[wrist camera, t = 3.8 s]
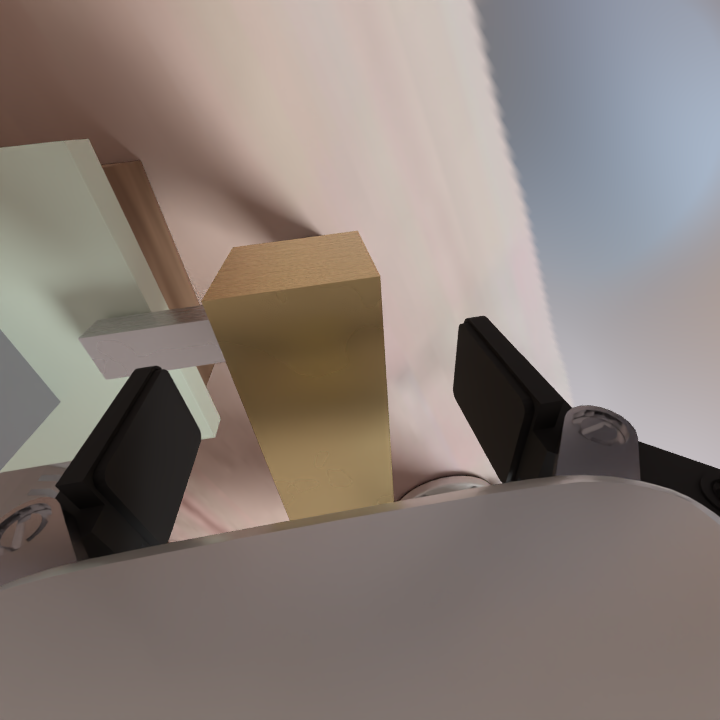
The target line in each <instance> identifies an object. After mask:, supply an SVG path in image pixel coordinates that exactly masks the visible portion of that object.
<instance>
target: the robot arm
mask: <svg viewBox="0 0 720 720" xmlns="http://www.w3.org/2000/svg"><path fill="white" fill-rule="evenodd" d="M453 393H454V397H455V399H456V401H457V403H458V405H459V406H460V408H461V410H462V412H463V414H464V416H465V417H466V419H467V421H468V423H469V425H470V427H471V428H472V430H473V432H474V434H475V436H476V437H477V439H478V441H479V443H480V445H481V447H482V448H483V450H484V452H485V454H486V456H487V458H488V459H489V461H490V463H491V465H492V467H493V468H494V470H495V472H496V474H497V476H498V478H499V479H500V481H501V482H502V484H496V485H490V484H489V483H488V482H486V481H484V480H482V479H480V478H476V477H471V476H451V477H445V478H440V479H437V480H433V481H430V482H428V483H425V484H423V485H421V486H419V487H417V488H415V489H414V490H412V491H411V492H409V493H408V494H407V495H405V496H404V497H403V498H402V499H401V500H400V501H397V502H391V503H385V504H380V505H374V506H368V507H363V508H357V509H352V510H346V511H341V512H335V513H330V514H324V515H318V516H313V517H307V518H302V519H296V520H291V521H285V522H280V523H274V524H269V525H264V526H258V527H253V528H247V529H242V530H237V531H231V532H226V533H220V534H215V535H210V536H204V537H199V538H194V539H188V540H183V541H178V542H172V543H167V542H168V540H169V538H170V535H171V532H172V529H173V526H174V523H175V520H176V517H177V513H178V510H179V507H180V504H181V501H182V498H183V495H184V492H185V489H186V486H187V483H188V479H189V476H190V473H191V470H192V467H193V464H194V461H195V458H196V455H197V452H198V448H199V445H200V442H201V431H200V429H199V427H198V425H197V423H196V421H195V420H194V418H193V416H192V414H191V412H190V410H189V408H188V407H187V405H186V403H185V401H184V399H183V397H182V396H181V394H180V392H179V390H178V388H177V386H176V384H175V383H174V381H173V379H172V377H171V375H170V373H169V372H168V371H167V370H166V369H162V368H161V367H159V366H157V365H156V366H150V367H143V368H137V369H135V370H134V371H133V373H132V374H131V376H130V377H129V378H128V380H127V381H126V383H125V384H124V386H123V387H122V389H121V390H120V392H119V393H118V394H117V396H116V397H115V399H114V400H113V402H112V403H111V405H110V406H109V408H108V409H107V411H106V412H105V413H104V415H103V416H102V418H101V419H100V421H99V422H98V424H97V425H96V427H95V428H94V429H93V431H92V432H91V434H90V435H89V437H88V438H87V440H86V441H85V443H84V444H83V446H82V447H81V448H80V450H79V451H78V453H77V454H76V456H75V457H74V459H73V460H72V462H71V463H70V465H69V466H68V467H67V469H66V470H65V472H64V473H63V475H62V476H61V478H60V479H59V481H58V482H57V483H56V485H55V487H56V488H58V489H59V490H60V491H59V493H58V494H57V496H56V497H55V498H51V497H41V498H37V499H34V500H30V501H28V502H26V503H23V504H21V505H19V506H17V507H16V508H14V509H12V510H11V511H9V512H8V513H6V514H5V515H3V516H2V517H1V518H0V720H720V469H718V468H715V467H712V466H709V465H706V464H703V463H700V462H697V461H694V460H691V459H689V458H686V457H683V456H680V455H677V454H674V453H671V452H668V451H665V450H662V449H659V448H656V447H654V446H651V445H647V444H645V443H642V442H639V441H638V436H637V433H636V430H635V429H634V427H633V426H632V425H631V424H630V423H629V422H628V421H627V420H626V419H624V418H623V417H622V416H620V415H618V414H616V413H614V412H612V411H610V410H608V409H605V408H602V407H597V406H591V405H587V406H577V407H574V408H572V407H571V406H570V405H569V404H568V403H567V402H566V401H565V400H564V399H563V398H562V397H561V396H560V395H559V394H558V392H557V391H556V390H555V389H554V388H553V387H552V386H551V385H550V384H549V383H548V382H547V381H546V380H545V379H544V378H543V377H542V375H541V374H540V373H539V372H538V371H537V370H536V369H535V368H534V367H533V366H532V365H531V364H530V363H529V362H528V361H527V360H526V358H525V357H524V356H523V355H521V353H520V352H519V351H518V350H517V349H516V348H515V347H514V346H513V345H512V344H511V343H510V342H509V341H508V340H507V339H506V337H505V336H504V335H503V334H502V333H501V332H500V331H499V330H498V329H497V328H496V327H495V326H494V325H493V324H492V323H491V321H490V320H489V319H488V318H487V317H485V316H479V317H472V318H466V319H465V321H464V323H463V324H460V325H459V330H458V341H457V352H456V363H455V373H454V384H453Z"/></svg>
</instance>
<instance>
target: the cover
mask: <svg viewBox="0 0 720 720" xmlns="http://www.w3.org/2000/svg"><path fill="white" fill-rule="evenodd" d="M163 310H169V308H168V306H167V304H166V302H165V299H164V297H163V295H162V293H161V291H160V289H159V287H158V285H157V282H156V280H155V278H154V276H153V274H152V272H151V270H150V268H149V266H148V263H147V261H146V259H145V257H144V255H143V253H142V251H141V249H140V247H139V244H138V242H137V240H136V238H135V236H134V234H133V232H132V230H131V227H130V225H129V223H128V221H127V219H126V217H125V215H124V213H123V211H122V208H121V206H120V204H119V202H118V200H117V198H116V196H115V194H114V192H113V189H112V187H111V185H110V183H109V181H108V179H107V177H106V175H105V172H104V170H103V168H102V166H101V164H100V162H99V160H98V158H97V156H96V153H95V151H94V149H93V147H92V145H91V143H90V141H89V139H80V140H64V141H55V142H47V143H38V144H29V145H20V146H11V147H2V148H0V473H1V472H7V471H13V470H19V469H25V468H31V467H37V466H44V465H50V464H56V463H62V462H68V461H72V460H73V459H74V457H75V456H76V454H77V453H78V451H79V450H80V448H81V447H82V446H83V444H84V443H85V441H86V440H87V438H88V437H89V435H90V434H91V432H92V431H93V429H94V428H95V427H96V425H97V424H98V422H99V421H100V419H101V418H102V416H103V415H104V413H105V412H106V411H107V409H108V408H109V406H110V405H111V403H112V402H113V400H114V399H115V397H116V396H117V394H118V393H119V392H120V390H121V389H122V387H123V386H124V384H125V383H126V381H127V380H128V378H129V377H130V376H129V377H122V378H115V379H109V380H106V379H105V377H104V376H103V375H102V373H101V372H100V370H99V369H98V367H97V366H96V364H95V363H94V361H93V360H92V359H91V357H90V356H89V354H88V353H87V351H86V350H85V348H84V347H83V346H82V344H81V343H80V341H79V340H78V338H79V337H80V336H81V335H82V334H83V333H84V332H85V331H86V330H87V329H89V328H90V327H91V326H92V325H93V324H94V323H95V322H96V321H97V320H100V319H107V318H114V317H121V316H128V315H135V314H142V313H149V312H156V311H163ZM168 372H169V373H170V375H171V377H172V379H173V381H174V383H175V384H176V386H177V388H178V390H179V392H180V394H181V396H182V397H183V399H184V401H185V403H186V405H187V407H188V408H189V410H190V412H191V414H192V416H193V418H194V420H195V421H196V423H197V425H198V427H199V429H200V431H201V440H202V439H208V438H214V437H216V433H217V430H218V426H219V423H220V419H221V418H220V416H219V414H218V412H217V409H216V407H215V405H214V403H213V401H212V399H211V397H210V395H209V392H208V390H207V388H206V386H205V384H204V382H203V380H202V378H201V376H200V373H199V371H198V369H197V367H196V366H194V367H188V368H181V369H175V370H168Z"/></svg>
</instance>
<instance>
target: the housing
mask: <svg viewBox="0 0 720 720" xmlns="http://www.w3.org/2000/svg"><path fill="white" fill-rule="evenodd" d="M101 166H102V168H103V170H104V172H105V175H106V177H107V179H108V181H109V183H110V185H111V187H112V189H113V192H114V194H115V196H116V198H117V200H118V202H119V204H120V206H121V208H122V211H123V213H124V215H125V217H126V219H127V221H128V223H129V225H130V227H131V230H132V232H133V234H134V236H135V238H136V240H137V242H138V244H139V247H140V249H141V251H142V253H143V255H144V257H145V259H146V261H147V263H148V266H149V268H150V270H151V272H152V274H153V276H154V278H155V280H156V282H157V285H158V287H159V289H160V291H161V293H162V295H163V297H164V299H165V302H166V304H167V306H168V308H169V310H170V309H177V308H184V307H191V306H198V305H200V304H199V302H198V300H197V297H196V295H195V292H194V290H193V287H192V285H191V282H190V280H189V278H188V275H187V273H186V270H185V268H184V265H183V263H182V261H181V258H180V256H179V253H178V251H177V248H176V246H175V243H174V241H173V239H172V236H171V234H170V231H169V229H168V226H167V224H166V222H165V219H164V217H163V214H162V212H161V209H160V207H159V204H158V202H157V200H156V197H155V195H154V192H153V190H152V187H151V185H150V183H149V180H148V178H147V175H146V173H145V170H144V168H143V165H142V163H141V161H140V160H138V161H130V162H121V163H113V164H104V165H101ZM214 364H215V363H214ZM214 364H207V365H201V366H196V367H197V369H198V371H199V373H200V376H201V378H202V380H203V382H204V384H205V386H206V385H207V382H208V380H209V377H210V374H211V372H212V369H213V366H214Z"/></svg>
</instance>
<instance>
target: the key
mask: <svg viewBox="0 0 720 720" xmlns="http://www.w3.org/2000/svg"><path fill="white" fill-rule="evenodd" d="M201 302H202V304H203V305H198V306H191V307H184V308H177V309H170V310H163V311H156V312H149V313H142V314H135V315H128V316H121V317H114V318H107V319H100V320H97V321H96V322H95V323H94V324H93V325H92V326H91V327H90V328H89V329H87V330H86V331H85V332H84V333H83V334H82V335H81V336H80V337H79V338H78V340H79V341H80V343H81V344H82V346H83V347H84V348H85V350H86V351H87V353H88V354H89V356H90V357H91V359H92V360H93V361H94V363H95V364H96V366H97V367H98V369H99V370H100V372H101V373H102V375H103V376H104V377H105V379H106V380H109V379H115V378H122V377H129V376H131V374H132V373H133V371H134V370H135V369H137V368H143V367H150V366H156V365H157V366H159V367H161V368H162V369H166V370H167V371H168V370H175V369H181V368H188V367H194V366H201V365H207V364H214V363H221V362H226V364H227V366H228V369H229V371H230V374H231V376H232V378H233V381H234V383H235V386H236V388H237V391H238V393H239V396H240V398H241V401H242V403H243V406H244V408H245V411H246V413H247V416H248V418H249V421H250V423H251V425H252V428H253V430H254V433H255V435H256V438H257V440H258V443H259V445H260V448H261V450H262V453H263V455H264V458H265V460H266V463H267V465H268V467H269V470H270V472H271V475H272V477H273V480H274V482H275V485H276V487H277V490H278V492H279V495H280V497H281V500H282V502H283V505H284V507H285V510H286V512H287V514H288V517H289V519H290V521H291V520H296V519H302V518H307V517H313V516H318V515H324V514H330V513H335V512H341V511H346V510H352V509H357V508H363V507H368V506H374V505H380V504H385V503H391V502H394V495H393V479H392V462H391V446H390V429H389V413H388V396H387V380H386V364H385V347H384V331H383V314H382V298H381V281H380V275H379V273H378V271H377V269H376V267H375V265H374V263H373V261H372V259H371V257H370V255H369V253H368V251H367V249H366V247H365V245H364V243H363V241H362V239H361V237H360V235H359V233H358V231H352V232H345V233H337V234H330V235H322V236H311V237H307V238H300V239H292V240H285V241H277V242H270V243H262V244H255V245H247V246H240V247H233V248H232V250H231V252H230V253H229V255H228V257H227V258H226V260H225V262H224V264H223V265H222V267H221V269H220V270H219V272H218V274H217V275H216V277H215V279H214V281H213V282H212V284H211V286H210V287H209V289H208V291H207V293H206V294H205V296H204V298H203V299H202V301H201Z"/></svg>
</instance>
